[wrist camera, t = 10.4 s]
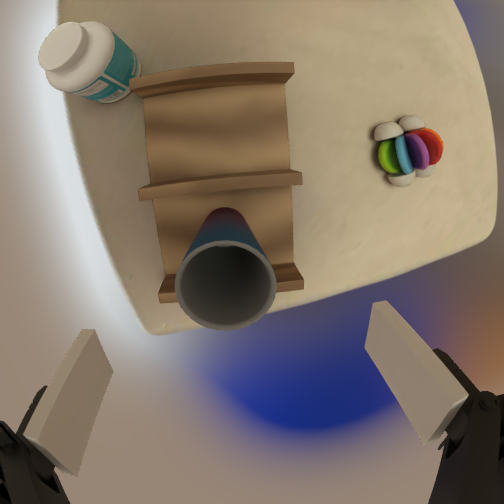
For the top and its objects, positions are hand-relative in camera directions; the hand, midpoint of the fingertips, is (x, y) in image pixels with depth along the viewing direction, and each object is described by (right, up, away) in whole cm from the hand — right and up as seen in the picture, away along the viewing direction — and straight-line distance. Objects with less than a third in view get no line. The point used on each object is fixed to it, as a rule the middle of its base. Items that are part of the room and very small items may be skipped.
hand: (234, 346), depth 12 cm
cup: (-2, +7, +21) cm, 22 cm away
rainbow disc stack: (+21, +18, +20) cm, 34 cm away
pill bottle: (-16, +25, +14) cm, 33 cm away
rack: (-3, +13, +19) cm, 23 cm away
